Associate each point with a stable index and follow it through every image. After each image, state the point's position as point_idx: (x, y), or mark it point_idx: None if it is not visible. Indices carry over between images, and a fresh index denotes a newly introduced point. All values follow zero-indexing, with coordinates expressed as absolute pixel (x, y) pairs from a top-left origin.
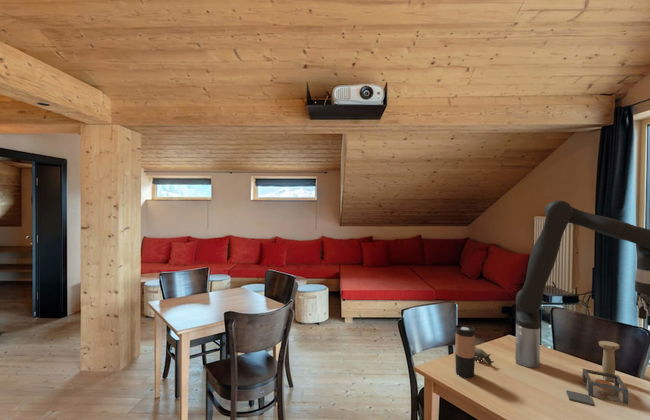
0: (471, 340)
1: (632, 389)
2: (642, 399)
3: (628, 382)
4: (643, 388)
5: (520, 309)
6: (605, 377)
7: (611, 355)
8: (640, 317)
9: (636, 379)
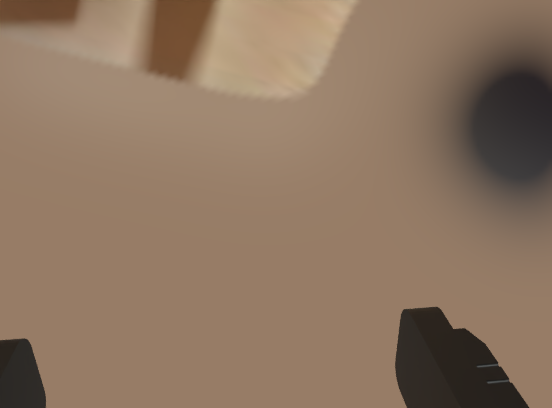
0: None
1: (146, 19)
2: (40, 38)
3: (235, 22)
4: (198, 81)
5: None
6: None
7: None
8: (405, 330)
9: (304, 77)
